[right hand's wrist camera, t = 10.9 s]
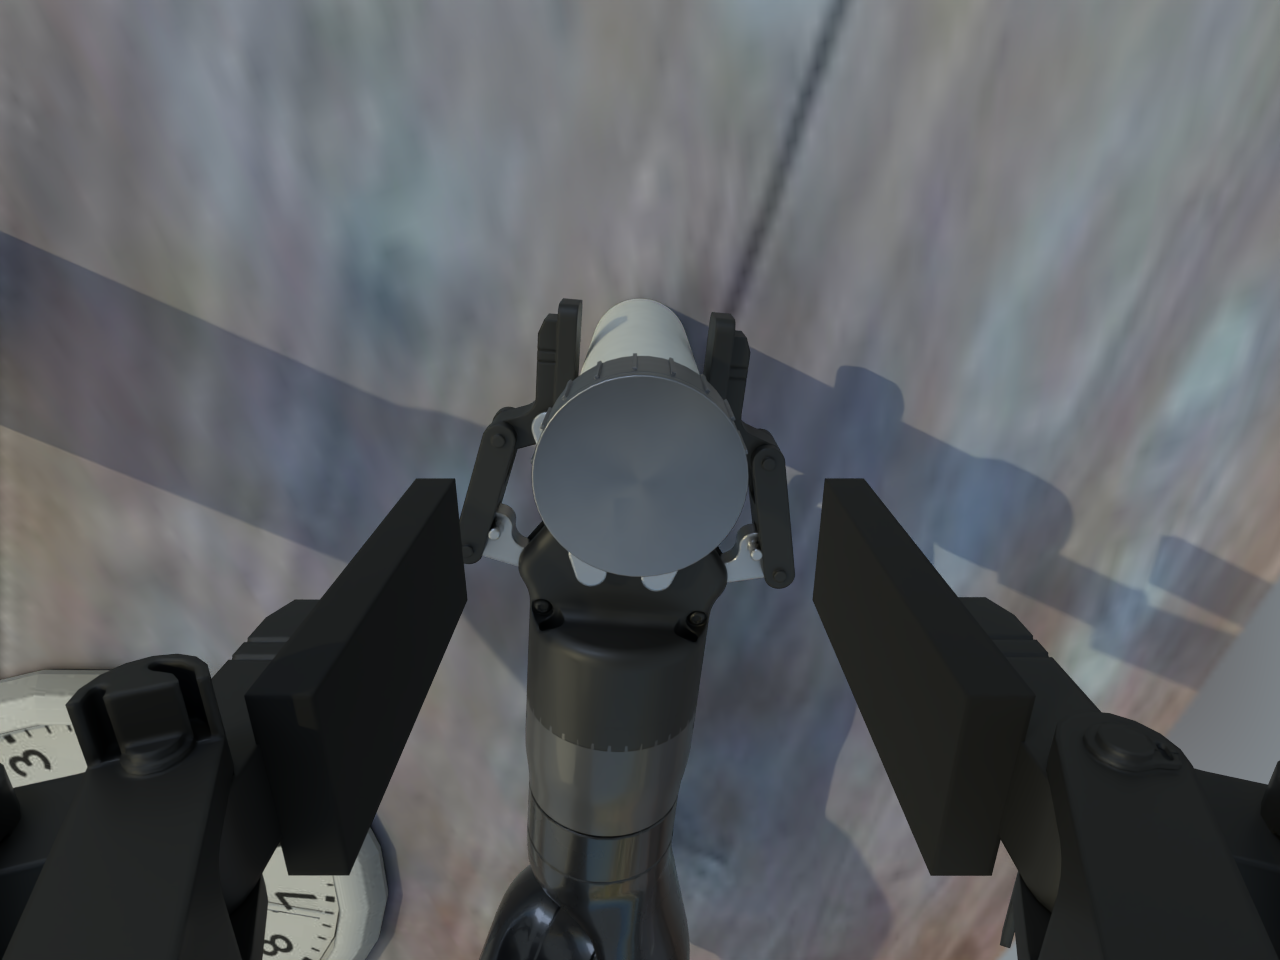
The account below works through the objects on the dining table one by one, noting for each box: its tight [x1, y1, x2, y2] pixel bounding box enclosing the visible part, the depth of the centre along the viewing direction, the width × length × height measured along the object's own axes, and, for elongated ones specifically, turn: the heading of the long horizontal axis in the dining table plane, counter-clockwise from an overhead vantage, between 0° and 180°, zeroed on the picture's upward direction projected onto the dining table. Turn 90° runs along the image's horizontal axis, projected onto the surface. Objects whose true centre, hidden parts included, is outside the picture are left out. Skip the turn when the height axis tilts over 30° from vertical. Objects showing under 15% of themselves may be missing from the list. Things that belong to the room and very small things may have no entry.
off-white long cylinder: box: [580, 299, 700, 375], centre depth 25 cm, size 4×4×16 cm
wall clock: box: [0, 670, 388, 960], centre depth 44 cm, size 30×2×30 cm
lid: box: [531, 353, 749, 577], centre depth 18 cm, size 5×5×2 cm
